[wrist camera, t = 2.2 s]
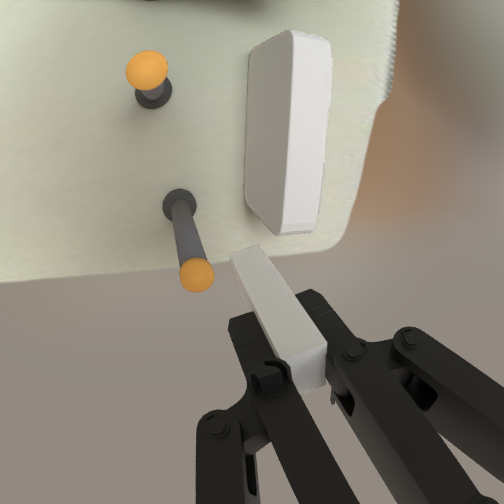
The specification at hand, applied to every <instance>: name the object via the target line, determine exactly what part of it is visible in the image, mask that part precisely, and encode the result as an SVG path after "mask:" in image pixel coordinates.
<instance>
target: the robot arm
mask: <svg viewBox="0 0 504 504" xmlns="http://www.w3.org/2000/svg"><path fill="white" fill-rule="evenodd" d="M229 257H230V260H231V264H232V268H233V271H234V275H235V279H236V282H237V286H238V289H239V293H240V297H241V299H242V301H243V303H244V306H245V308H246V310H247V312H248V313H245V314H243V315H240V316H237V317H234V318H231V319H230V320H229V326H228V331H229V334H230V337H231V340H232V342H233V345H234V348H235V351H236V353H237V356H238V359H239V361H240V364H241V367H242V370H243V372H244V375H245V377H246V381H247V389H246V392H245V394H244V396H243V397H242V399H240V400H239V401H238V402H237V403H236V404H234V405H233V406H231V407H230V408H229V409H227V410H213V411H210V412H208V413H207V414H205V415H203V417H202V418H201V419H200V420H199V422H198V425H197V430H196V431H197V432H196V504H260V495H259V484H258V473H257V462H256V452H257V451H259V450H260V449H261V448H263V447H264V446H265V445H267V444H268V443H269V442H272V444H273V447H274V449H275V452H276V454H277V456H278V458H279V461H280V463H281V465H282V467H283V470H284V472H285V474H286V476H287V478H288V481H289V483H290V485H291V487H292V489H293V492H294V494H295V496H296V498H297V500H298V502H299V504H360V503H359V502H358V500H357V498H356V496H355V495H354V493H353V491H352V489H351V488H350V486H349V484H348V482H347V480H346V479H345V477H344V475H343V473H342V471H341V470H340V468H339V466H338V464H337V463H336V461H335V459H334V457H333V455H332V453H331V452H330V450H329V448H328V446H327V444H326V442H325V441H324V439H323V437H322V435H321V433H320V431H319V430H318V428H317V426H316V424H315V422H314V420H313V419H312V416H311V415H310V413H309V411H308V409H307V407H306V405H305V403H304V401H303V400H302V398H301V396H302V395H304V394H306V393H309V392H311V391H313V390H315V389H318V388H320V387H322V386H324V385H325V384H326V379H327V381H328V382H329V384H330V385H331V387H332V389H331V399H330V400H331V403H332V405H333V404H335V401H336V403H337V404H338V406H339V408H340V409H341V411H342V413H343V415H344V416H345V418H346V420H347V421H348V423H349V424H350V426H351V428H352V429H353V431H354V433H355V434H356V436H357V438H358V439H359V441H360V443H361V444H362V446H363V448H364V449H365V451H366V453H367V454H368V456H369V458H370V459H371V461H372V463H373V464H374V466H375V467H376V469H377V471H378V472H379V474H380V476H381V477H382V479H383V481H384V482H385V484H386V486H387V487H388V489H389V490H390V492H391V494H392V495H393V497H394V499H395V500H396V502H397V504H498V503H497V501H495V500H494V499H492V498H489V497H486V496H483V495H482V494H480V493H479V491H478V490H477V488H476V487H475V485H474V484H473V482H472V481H471V480H470V478H469V477H468V475H467V474H466V472H465V471H464V469H463V468H462V466H461V465H460V463H459V462H458V461H457V459H456V458H455V456H454V455H453V454H452V452H451V451H450V449H449V448H448V447H447V445H446V444H445V443H444V441H443V440H442V438H441V437H440V435H439V434H441V435H442V436H443V437H444V438H446V439H447V440H448V441H449V442H451V443H452V444H453V445H454V446H456V447H457V448H458V449H460V450H461V451H462V452H463V453H465V454H466V455H467V456H469V457H470V458H471V459H472V460H474V461H475V462H476V463H477V464H479V465H480V466H482V467H483V468H484V469H485V470H487V471H488V472H489V473H491V474H492V475H493V476H494V477H496V478H497V479H498V480H500V481H501V482H503V483H504V387H502V386H501V385H499V384H498V383H497V382H495V381H494V380H492V379H491V378H490V377H488V376H487V375H486V374H484V373H483V372H481V371H480V370H478V369H477V368H476V367H474V366H473V365H471V364H470V363H468V362H467V361H466V360H464V359H463V358H461V357H460V356H459V355H457V354H456V353H454V352H453V351H451V350H450V349H448V348H447V347H445V346H444V345H443V344H441V343H439V342H438V341H437V340H435V339H434V338H432V337H431V336H429V335H428V334H426V333H425V332H423V331H422V330H420V329H418V328H415V327H404V328H401V329H400V330H398V331H397V332H396V334H395V335H394V337H393V339H389V340H384V341H379V342H366V341H365V340H363V339H360V338H357V337H355V336H354V335H353V334H352V332H351V331H350V330H349V329H348V327H347V326H346V325H345V324H344V322H343V321H342V320H341V318H340V317H339V316H338V315H337V313H336V312H335V311H333V308H332V307H331V306H330V305H329V304H328V302H327V301H326V300H325V299H324V297H323V296H322V295H321V294H320V293H318V292H316V291H314V290H312V289H309V290H306V291H304V292H301V293H298V294H296V295H294V294H293V292H292V291H291V289H290V288H289V287H288V285H287V284H286V282H285V281H284V279H283V278H282V277H281V275H280V274H279V272H278V271H277V269H276V268H275V267H274V265H273V264H272V262H271V261H270V259H269V258H268V257H267V255H266V254H265V252H264V251H263V249H262V248H261V247H260V245H259V244H257V245H254V246H251V247H248V248H245V249H242V250H239V251H236V252H233V253H230V254H229ZM437 432H438V433H439V434H438V433H437Z"/></svg>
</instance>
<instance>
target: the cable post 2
mask: <svg viewBox="0 0 504 504" xmlns="http://www.w3.org/2000/svg"><path fill="white" fill-rule="evenodd" d="M196 207H197V206H196V200H195V198H194V196H193V195H192V194H191V193H190V192H189V191H187V190H184V189H176V190H173V191H171V192H170V193H169V194H167V196H166V197H165V199H164V201H163V211H164V214H165V216H166V217H167V218H168V219H169V220H171V221H173V226H174V233H175V239H176V246H177V252H178V258H179V264H180V280H181V284H182V286H183V287H184V288H185V289H186V290H188V291H190V292H202V291H204V290H206V289H208V288H209V287H210V286H211V285H212V283H213V281H214V272H213V269H212V267H211V265H210V263H209V262H208V261H207V258H206V255H205V252H204V249H203V246H202V244H201V241H200V238H199V235H198V232H197V229H196V226H195V223H194V220H193V217H192V216H193V215H194V214H195V211H196Z"/></svg>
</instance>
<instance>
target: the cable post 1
mask: <svg viewBox="0 0 504 504" xmlns="http://www.w3.org/2000/svg"><path fill="white" fill-rule="evenodd" d="M167 72H168V63H167V61H166V59H165V57H164V56H163V55H162V54H160V53H159V52H156V51H143V52H140V53H138V54H136V55H135V56H134V57H133V58H132V59H131V60H130V61H129V63H128V65H127V67H126V78H127V80H128V82H129V83H130V84H131V85H132V86H133V87H134V88H136V91H135V95H136V99H137V101H138V102H139V103H140V104H141V105H142V106H144V107H147V108H157V107H160V106H162V105H164V104H165V103H166V102H167V101H168V100H169V98H170V96H171V93H172V86H171V83H170V81H169V80H168V78H167V77H166V76H167Z"/></svg>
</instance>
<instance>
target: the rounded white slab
mask: <svg viewBox="0 0 504 504" xmlns="http://www.w3.org/2000/svg"><path fill="white" fill-rule="evenodd" d="M332 64H333V57H332V51H331V45H330V43H329V41H328V40H327V39H326V38H324V37H320V36H316V35H312V34H308V33H303V32H298V31H293V30H285V31H283V32H281V33H279V34H278V35H276V36H274V37H272V38H270V39H268V40H267V41H265V42H263V43H261V44H260V45H258V46H256V47H255V48H253V50H252V51H251V54H250V58H249V69H248V92H247V116H246V142H245V170H244V196H245V201H246V203H247V205H248V206H249V208H250V209H251V210H252V211H253V212H254V213H255V214H256V215H257V216H258V217H259V219H260V220H261V221H262V222H263V223H264V224H265V225H266V226H267V227H268V229H269V230H270V231H271V232H272V233H273V234H274V235H276V236H285V235H295V234H306V233H311V232H312V231H313V230H314V229H315V226H316V223H317V217H318V214H319V211H320V203H321V195H322V187H323V178H324V169H325V163H324V158H325V147H326V136H327V125H328V112H329V110H330V102H331V85H332Z"/></svg>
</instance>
